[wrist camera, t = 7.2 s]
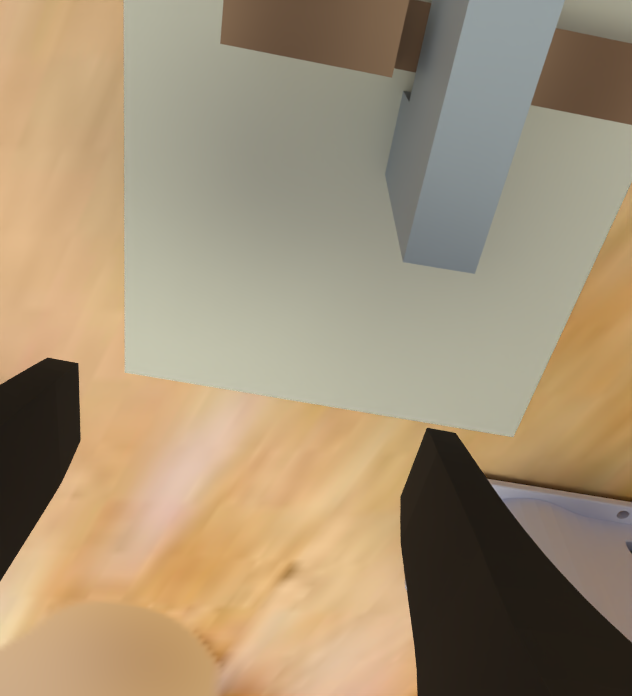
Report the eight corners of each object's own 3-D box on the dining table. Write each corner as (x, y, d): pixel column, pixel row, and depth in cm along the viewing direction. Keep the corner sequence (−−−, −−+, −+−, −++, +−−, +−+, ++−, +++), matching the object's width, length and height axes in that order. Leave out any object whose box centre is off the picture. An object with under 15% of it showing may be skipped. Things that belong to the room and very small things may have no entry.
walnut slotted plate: (639, 46, 16) (716, 60, 13) (614, 105, 17) (680, 134, 14) (252, -34, 16) (226, -40, 12) (246, 32, 17) (220, 43, 13)
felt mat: (781, -156, 14) (789, -159, 14) (511, 432, 24) (513, 436, 24) (126, -305, 13) (122, -311, 13) (127, 368, 23) (124, 372, 23)
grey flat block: (517, -135, 14) (638, -224, 8) (433, 183, 19) (475, 273, 13) (454, -148, 14) (531, -245, 8) (384, 174, 19) (403, 262, 13)
